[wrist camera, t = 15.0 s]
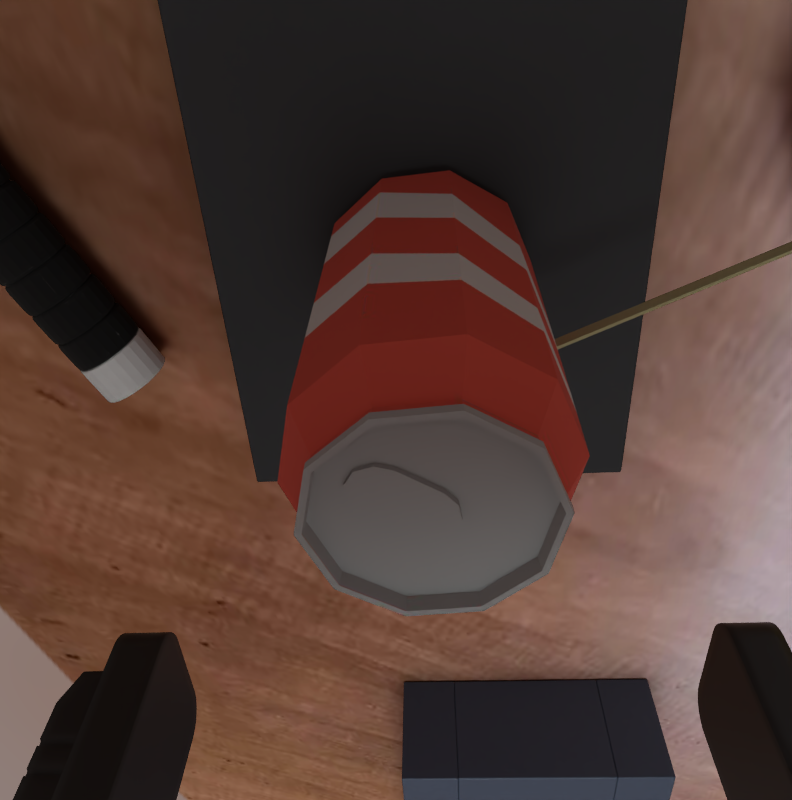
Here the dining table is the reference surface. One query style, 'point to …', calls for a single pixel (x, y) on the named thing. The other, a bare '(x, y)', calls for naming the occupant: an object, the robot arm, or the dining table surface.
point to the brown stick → (674, 295)
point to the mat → (428, 160)
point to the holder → (533, 741)
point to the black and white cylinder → (70, 300)
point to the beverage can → (430, 406)
